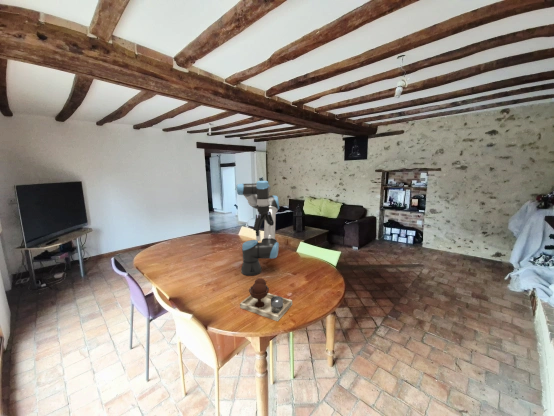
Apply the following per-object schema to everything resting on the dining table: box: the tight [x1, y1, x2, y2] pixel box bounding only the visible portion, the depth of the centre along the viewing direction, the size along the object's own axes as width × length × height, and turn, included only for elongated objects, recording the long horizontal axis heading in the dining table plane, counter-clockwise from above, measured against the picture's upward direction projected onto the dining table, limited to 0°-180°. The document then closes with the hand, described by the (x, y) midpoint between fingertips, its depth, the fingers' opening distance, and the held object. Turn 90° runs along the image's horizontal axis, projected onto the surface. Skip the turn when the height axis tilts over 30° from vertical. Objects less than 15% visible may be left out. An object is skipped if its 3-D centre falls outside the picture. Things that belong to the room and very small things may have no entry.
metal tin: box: [271, 295, 284, 313], centre depth 120 cm, size 6×6×6 cm
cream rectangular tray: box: [239, 292, 293, 322], centre depth 124 cm, size 24×16×4 cm, turn 60°
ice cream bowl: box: [248, 277, 270, 308], centre depth 124 cm, size 11×11×15 cm
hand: (264, 237), depth 146 cm, fingers open, 13 cm apart
